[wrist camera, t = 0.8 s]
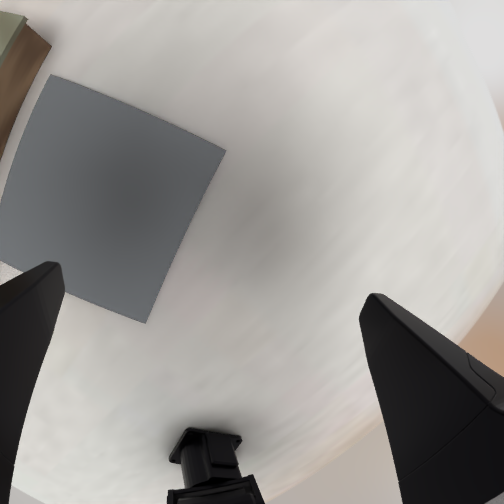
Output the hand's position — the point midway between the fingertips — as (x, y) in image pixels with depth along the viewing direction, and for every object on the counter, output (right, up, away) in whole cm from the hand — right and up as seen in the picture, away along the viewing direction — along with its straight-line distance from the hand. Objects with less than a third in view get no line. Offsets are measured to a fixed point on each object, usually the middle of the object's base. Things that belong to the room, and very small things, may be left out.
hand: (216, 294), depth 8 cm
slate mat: (-10, +5, +11) cm, 16 cm away
